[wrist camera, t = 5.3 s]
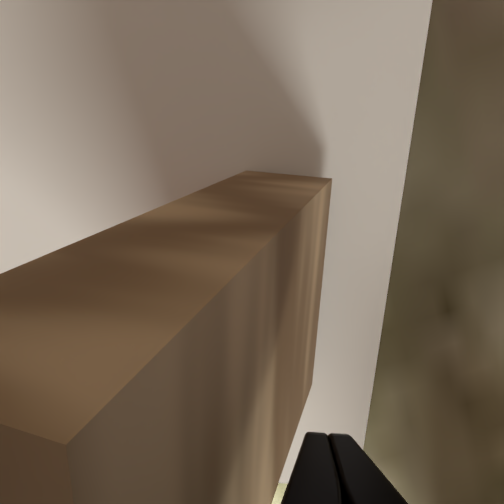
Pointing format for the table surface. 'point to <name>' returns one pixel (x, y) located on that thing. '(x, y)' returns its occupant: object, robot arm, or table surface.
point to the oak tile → (166, 350)
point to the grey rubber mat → (219, 138)
